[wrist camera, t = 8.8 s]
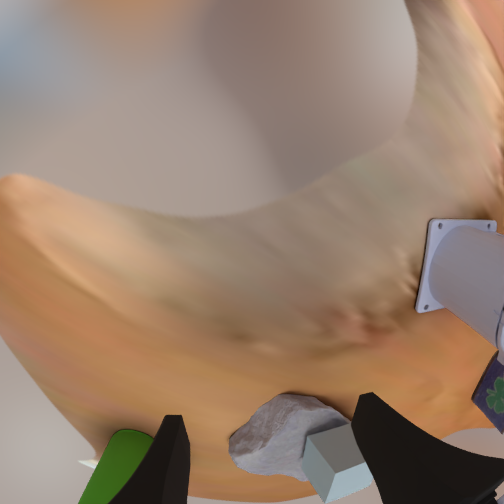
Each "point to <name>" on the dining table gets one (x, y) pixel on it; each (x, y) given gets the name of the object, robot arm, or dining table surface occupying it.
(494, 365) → the flask
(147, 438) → the cup
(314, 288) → the dining table surface
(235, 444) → the stone block
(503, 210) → the dining table surface
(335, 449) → the cube
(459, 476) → the robot arm
